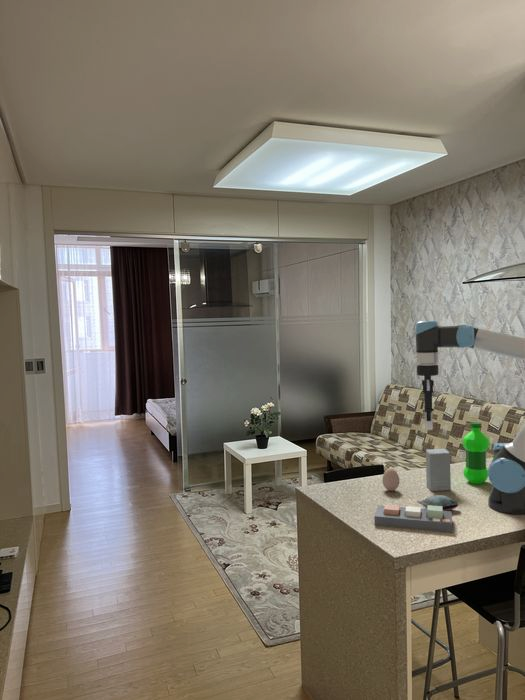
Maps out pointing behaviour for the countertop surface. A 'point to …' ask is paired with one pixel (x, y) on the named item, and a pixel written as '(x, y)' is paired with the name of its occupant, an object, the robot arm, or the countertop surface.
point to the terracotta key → (392, 509)
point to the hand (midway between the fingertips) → (428, 429)
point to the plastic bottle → (476, 454)
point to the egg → (390, 479)
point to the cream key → (413, 511)
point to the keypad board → (414, 520)
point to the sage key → (434, 512)
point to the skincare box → (438, 469)
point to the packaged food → (439, 502)
